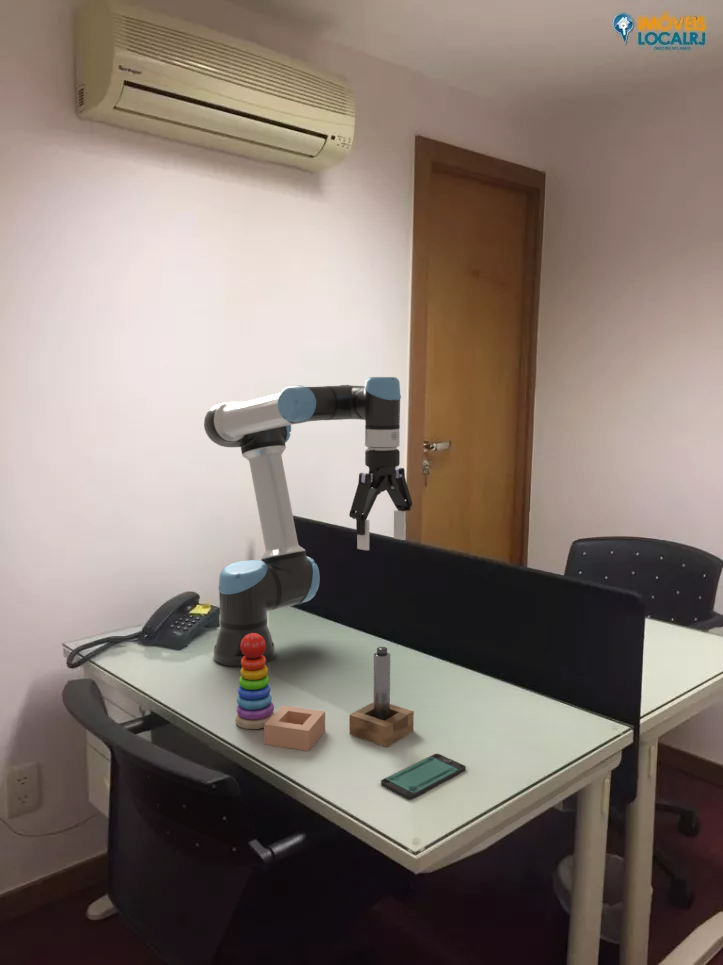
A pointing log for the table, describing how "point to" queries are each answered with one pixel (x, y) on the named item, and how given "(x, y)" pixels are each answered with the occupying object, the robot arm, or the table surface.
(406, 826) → the table surface
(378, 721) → the brown wooden square holder
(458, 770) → the smartphone
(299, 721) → the pink square socket block
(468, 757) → the table surface
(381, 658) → the grey capped cylinder
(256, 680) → the stacking toy
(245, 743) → the table surface
